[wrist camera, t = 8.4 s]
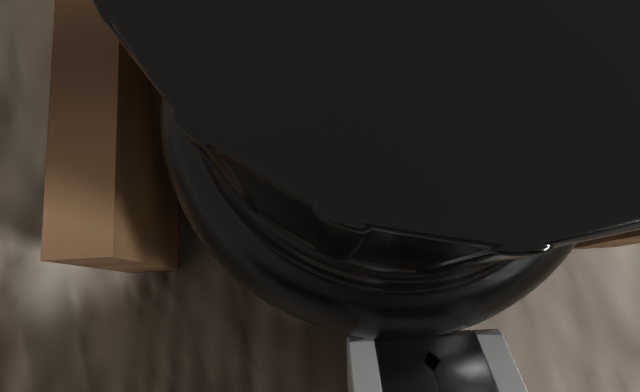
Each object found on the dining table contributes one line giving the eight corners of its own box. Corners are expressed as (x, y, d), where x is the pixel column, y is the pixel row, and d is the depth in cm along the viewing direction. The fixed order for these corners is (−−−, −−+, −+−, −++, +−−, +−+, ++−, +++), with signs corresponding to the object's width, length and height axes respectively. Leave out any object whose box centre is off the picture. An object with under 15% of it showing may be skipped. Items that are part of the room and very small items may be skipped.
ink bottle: (340, -7, 17) (387, -659, 6) (560, 142, 16) (1195, -266, 4) (153, 216, 16) (-336, -26, 4) (383, 398, 15) (647, 800, 3)
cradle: (615, 247, 16) (752, 223, 11) (128, 272, 15) (40, 260, 10) (574, -1, 17) (675, -120, 12) (134, 19, 17) (60, -94, 12)
